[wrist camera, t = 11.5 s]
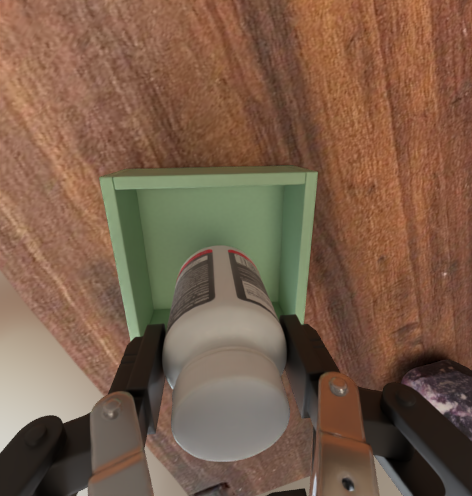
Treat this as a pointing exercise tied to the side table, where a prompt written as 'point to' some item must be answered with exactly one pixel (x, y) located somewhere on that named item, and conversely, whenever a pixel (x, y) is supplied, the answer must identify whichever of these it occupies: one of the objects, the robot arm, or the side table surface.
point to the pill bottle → (224, 358)
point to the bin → (208, 230)
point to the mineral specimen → (446, 390)
